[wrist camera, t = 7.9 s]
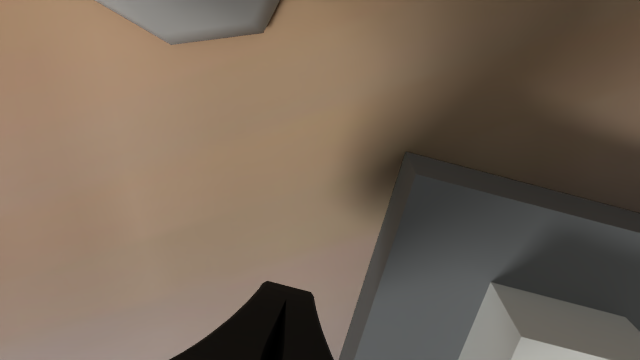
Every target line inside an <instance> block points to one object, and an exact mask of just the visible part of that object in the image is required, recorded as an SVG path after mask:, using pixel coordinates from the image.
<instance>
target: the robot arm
mask: <svg viewBox="0 0 640 360" xmlns="http://www.w3.org/2000/svg"><path fill="white" fill-rule="evenodd" d="M170 360H334V359H333V357H332V355H331V352H330V350H329V347H328V345H327V342H326V339H325V337H324V334H323V331H322V328H321V325H320V322H319V318H318V315H317V311H316V306H315V301H314V296H313V295H312V293H311V292H308V291H304V290H301V289H297V288H293V287H289V286H285V285H281V284H277V283H273V282H270V281H266V282H264V283H262V285H261V286H260V288H259V289H258V290H257V292H256V293H255V294H254V295H253V296H252V297H251V298H250V299H249V300H248V301H247V302H246V304H245V305H243V306H242V307H241V308H240V309H239V310H238V311H237V312H236V313H235V314H234V315H233V316H232V317H231V318H229V319H228V320H227V321H226V322H225V323H223V324H222V325H221V326H220V327H218V328H217V329H216V330H215V331H213V332H212V333H211V334H209V335H208V336H207V337H205V338H204V339H202V340H201V341H199V342H198V343H197V344H195V345H193V346H192V347H190V348H189V349H187V350H186V351H184V352H182V353H180V354H179V355H177V356H175V357H173V358H171V359H170Z"/></svg>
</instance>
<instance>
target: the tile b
mask: <svg viewBox="0 0 640 360" xmlns="http://www.w3.org/2000/svg"><path fill="white" fill-rule="evenodd" d="M458 360H640V332H639V331H638V330H637V328H636V327H635V326H634V325H633V324H632V323H631V322H630V321H629V320H628V319H627V318H626V317H623V316H619V315H615V314H611V313H608V312H604V311H600V310H596V309H592V308H588V307H585V306H581V305H577V304H573V303H569V302H565V301H562V300H558V299H554V298H550V297H546V296H542V295H538V294H535V293H531V292H527V291H523V290H519V289H515V288H512V287H508V286H504V285H500V284H496V283H492V282H490V285H489V287H488V290H487V292H486V294H485V297H484V299H483V301H482V304H481V306H480V309H479V311H478V313H477V316H476V318H475V320H474V323H473V325H472V328H471V330H470V332H469V335H468V337H467V340H466V342H465V344H464V347H463V349H462V351H461V354H460V356H459V359H458Z"/></svg>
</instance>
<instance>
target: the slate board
mask: <svg viewBox="0 0 640 360" xmlns="http://www.w3.org/2000/svg"><path fill="white" fill-rule="evenodd" d="M490 282H492V283H496V284H500V285H504V286H508V287H512V288H515V289H519V290H523V291H527V292H531V293H535V294H538V295H542V296H546V297H550V298H554V299H558V300H562V301H565V302H569V303H573V304H577V305H581V306H585V307H588V308H592V309H596V310H600V311H604V312H608V313H611V314H615V315H619V316H623V317H626V318H627V319H628V320H629V321H630V322H631V323H632V324H633V325H634V326H635V327H636V328H637V330H638V331H639V332H640V213H637V212H633V211H629V210H626V209H622V208H618V207H614V206H610V205H607V204H603V203H599V202H595V201H591V200H588V199H584V198H580V197H576V196H572V195H569V194H565V193H561V192H557V191H553V190H550V189H546V188H542V187H538V186H534V185H531V184H527V183H523V182H519V181H515V180H512V179H508V178H504V177H500V176H496V175H493V174H489V173H485V172H481V171H477V170H474V169H470V168H466V167H462V166H458V165H455V164H451V163H447V162H443V161H439V160H436V159H432V158H428V157H424V156H420V155H417V154H413V153H409V152H405V155H404V159H403V162H402V165H401V168H400V171H399V174H398V177H397V180H396V183H395V187H394V190H393V193H392V196H391V199H390V202H389V205H388V208H387V211H386V215H385V218H384V221H383V224H382V227H381V230H380V233H379V236H378V239H377V243H376V246H375V249H374V252H373V255H372V258H371V261H370V264H369V267H368V271H367V274H366V277H365V280H364V283H363V286H362V289H361V292H360V295H359V299H358V302H357V305H356V308H355V311H354V314H353V317H352V320H351V324H350V327H349V330H348V333H347V336H346V339H345V342H344V345H343V348H342V352H341V355H340V358H339V360H458V359H459V356H460V354H461V351H462V349H463V347H464V344H465V342H466V340H467V337H468V335H469V332H470V330H471V328H472V325H473V323H474V320H475V318H476V316H477V313H478V311H479V309H480V306H481V304H482V301H483V299H484V297H485V294H486V292H487V290H488V287H489V285H490Z"/></svg>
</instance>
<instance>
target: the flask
mask: <svg viewBox="0 0 640 360" xmlns="http://www.w3.org/2000/svg"><path fill="white" fill-rule="evenodd" d="M95 1H97V2H98V3H100V4H102V5H104V6H105V7H107V8H109V9H110V10H112V11H114V12H116V13H117V14H119V15H121V16H122V17H124V18H126V19H128V20H129V21H131V22H133V23H134V24H136V25H138V26H140V27H141V28H143V29H145V30H146V31H148V32H150V33H152V34H153V35H155V36H157V37H158V38H160V39H162V40H164V41H165V42H167V43H169V44H170V45H174V44H181V43H189V42H197V41H205V40H212V39H220V38H228V37H236V36H243V35H251V34H259V33H263V32H264V30H265V29H266V27H267V25H268V23H269V21H270V19H271V17H272V15H273V13H274V11H275V9H276V7H277V5H278V3H279V1H280V0H95Z"/></svg>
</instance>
